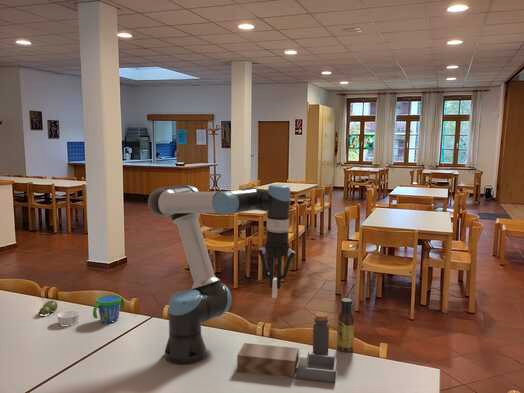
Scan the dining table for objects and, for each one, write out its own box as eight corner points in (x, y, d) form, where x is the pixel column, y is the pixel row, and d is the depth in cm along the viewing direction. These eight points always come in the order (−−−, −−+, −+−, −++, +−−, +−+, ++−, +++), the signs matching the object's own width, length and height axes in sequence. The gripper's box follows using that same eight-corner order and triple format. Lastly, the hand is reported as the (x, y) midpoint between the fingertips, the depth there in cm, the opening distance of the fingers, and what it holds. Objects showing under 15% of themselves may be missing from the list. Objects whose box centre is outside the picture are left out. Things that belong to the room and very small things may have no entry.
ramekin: (74, 327, 196) (73, 317, 196) (53, 327, 196) (53, 317, 196) (82, 319, 205) (82, 310, 204) (63, 319, 205) (63, 309, 205)
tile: (299, 357, 155) (306, 357, 155) (301, 349, 161) (308, 350, 161) (299, 373, 156) (306, 374, 156) (301, 365, 162) (308, 366, 161)
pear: (59, 298, 215) (45, 309, 206) (60, 309, 217) (47, 320, 207) (48, 298, 216) (34, 308, 207) (50, 308, 218) (36, 319, 208)
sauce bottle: (335, 345, 180) (336, 296, 178) (351, 345, 180) (353, 296, 178) (338, 353, 174) (339, 302, 171) (354, 353, 173) (356, 302, 171)
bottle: (327, 356, 170) (328, 317, 169) (312, 355, 171) (312, 316, 170) (328, 350, 176) (329, 312, 174) (313, 348, 177) (314, 311, 175)
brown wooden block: (237, 371, 159) (237, 355, 158) (244, 358, 168) (244, 342, 168) (294, 377, 155) (294, 361, 154) (298, 364, 164) (298, 348, 164)
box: (295, 378, 154) (296, 367, 154) (299, 363, 165) (300, 353, 164) (335, 383, 151) (335, 371, 151) (336, 367, 162) (336, 356, 162)
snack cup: (100, 328, 195) (99, 305, 194) (86, 322, 201) (86, 300, 200) (131, 318, 207) (131, 296, 206) (117, 312, 213) (117, 291, 212)
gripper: (256, 231, 154) (254, 298, 157) (295, 234, 151) (291, 302, 155) (260, 226, 161) (258, 291, 164) (297, 229, 159) (294, 295, 162)
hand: (274, 296), depth 159 cm, fingers closed
